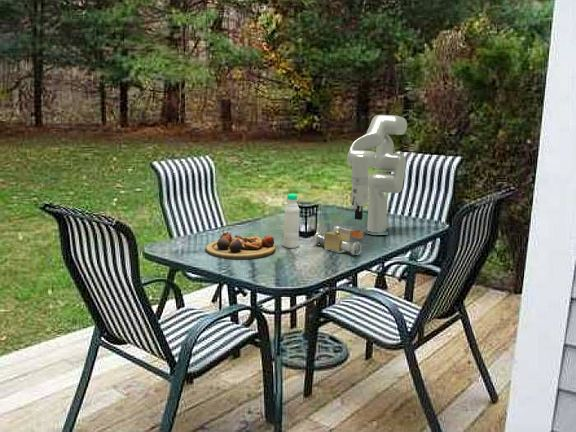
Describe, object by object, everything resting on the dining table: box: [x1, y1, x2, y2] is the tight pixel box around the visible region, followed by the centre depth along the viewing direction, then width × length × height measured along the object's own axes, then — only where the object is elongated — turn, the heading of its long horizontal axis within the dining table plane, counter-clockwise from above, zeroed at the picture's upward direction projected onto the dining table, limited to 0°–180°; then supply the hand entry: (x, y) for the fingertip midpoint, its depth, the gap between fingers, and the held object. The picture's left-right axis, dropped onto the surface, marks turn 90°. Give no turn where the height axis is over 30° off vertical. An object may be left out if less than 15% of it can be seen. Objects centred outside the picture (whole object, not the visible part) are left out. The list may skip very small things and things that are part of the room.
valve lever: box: [333, 225, 364, 240], centre depth 282 cm, size 16×4×3 cm, turn 44°
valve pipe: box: [312, 230, 363, 255], centre depth 288 cm, size 7×24×9 cm, turn 44°
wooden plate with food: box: [205, 231, 277, 260], centre depth 285 cm, size 32×32×8 cm
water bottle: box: [283, 193, 301, 249], centre depth 290 cm, size 7×7×25 cm
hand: (358, 219), depth 290 cm, fingers closed
